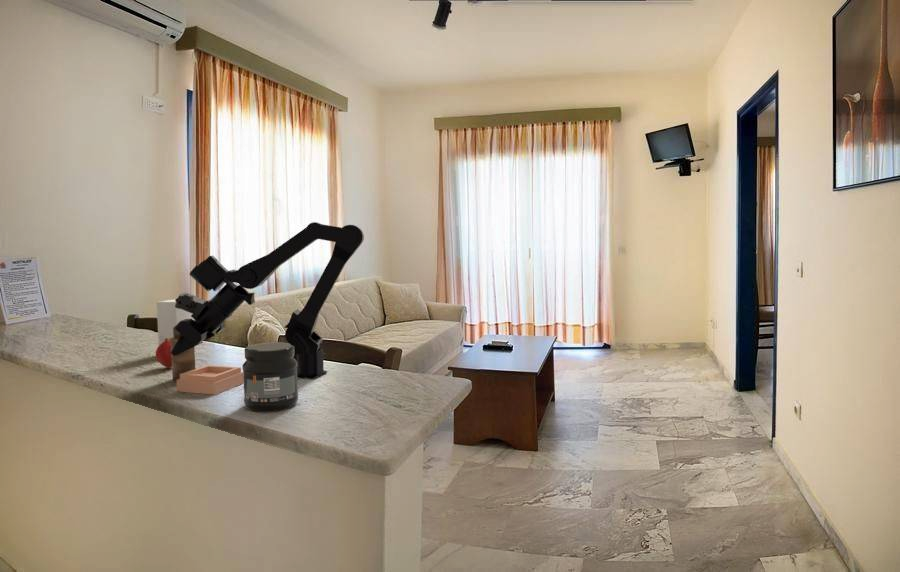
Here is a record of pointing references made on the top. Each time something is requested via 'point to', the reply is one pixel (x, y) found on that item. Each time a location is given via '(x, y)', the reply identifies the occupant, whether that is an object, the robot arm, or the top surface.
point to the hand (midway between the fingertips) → (177, 351)
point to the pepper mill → (181, 358)
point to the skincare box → (169, 318)
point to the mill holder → (210, 379)
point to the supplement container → (270, 377)
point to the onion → (164, 353)
